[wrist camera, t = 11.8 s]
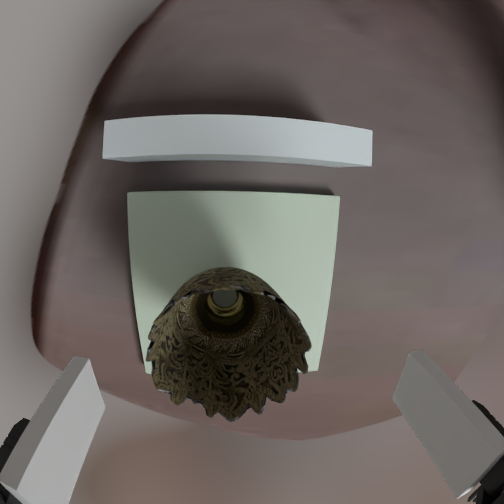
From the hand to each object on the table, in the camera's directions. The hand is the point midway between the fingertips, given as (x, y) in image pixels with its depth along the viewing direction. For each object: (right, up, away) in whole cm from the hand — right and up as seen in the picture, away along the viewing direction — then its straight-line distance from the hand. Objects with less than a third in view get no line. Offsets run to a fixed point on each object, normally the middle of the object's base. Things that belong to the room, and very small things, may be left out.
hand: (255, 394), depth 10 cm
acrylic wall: (-1, +12, +8) cm, 15 cm away
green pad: (-2, +3, +10) cm, 11 cm away
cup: (-2, +2, +10) cm, 10 cm away
